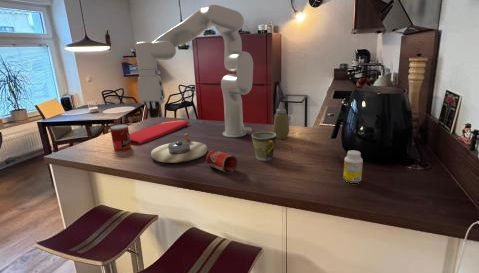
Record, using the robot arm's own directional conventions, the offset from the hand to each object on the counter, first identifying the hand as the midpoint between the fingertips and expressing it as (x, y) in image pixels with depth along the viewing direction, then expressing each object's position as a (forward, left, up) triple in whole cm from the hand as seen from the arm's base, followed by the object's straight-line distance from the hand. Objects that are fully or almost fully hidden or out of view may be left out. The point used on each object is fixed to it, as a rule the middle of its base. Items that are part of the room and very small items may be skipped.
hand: (154, 117), depth 123 cm
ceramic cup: (-48, +2, -17) cm, 51 cm away
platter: (-10, 0, -16) cm, 19 cm away
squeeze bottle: (-53, -28, -17) cm, 62 cm away
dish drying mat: (+17, -34, -18) cm, 42 cm away
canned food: (+22, -7, -17) cm, 29 cm away
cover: (-11, +1, -15) cm, 18 cm away
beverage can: (-32, +13, -17) cm, 39 cm away
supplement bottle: (-78, +20, -17) cm, 82 cm away
